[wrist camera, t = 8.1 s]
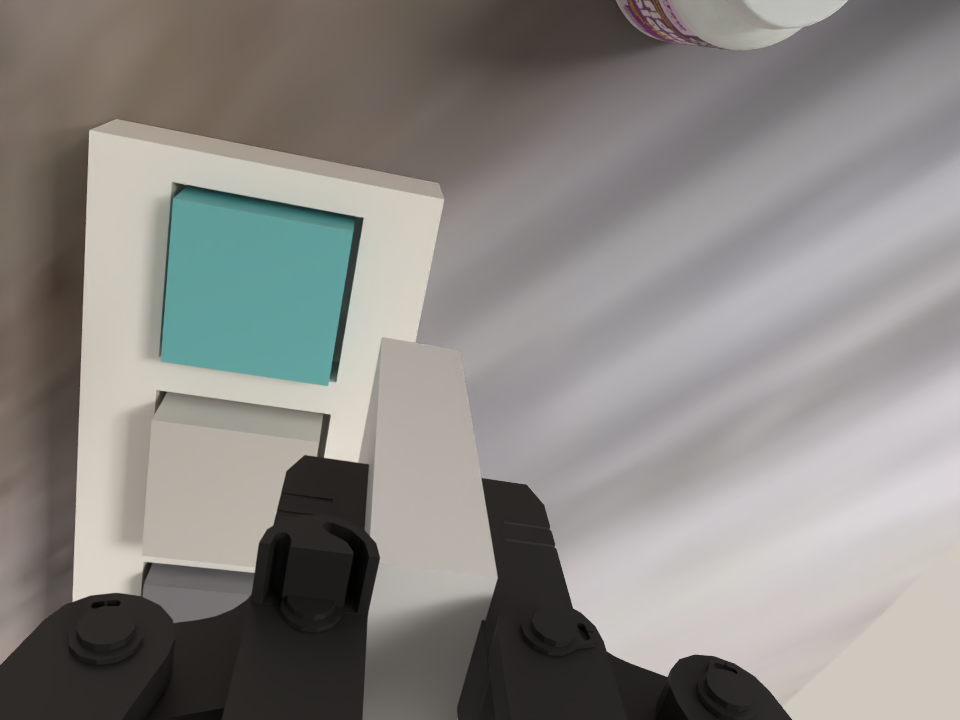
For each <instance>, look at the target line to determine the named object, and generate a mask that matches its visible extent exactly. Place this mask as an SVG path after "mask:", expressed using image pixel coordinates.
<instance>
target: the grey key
mask: <svg viewBox="0 0 960 720" xmlns="http://www.w3.org/2000/svg"><path fill="white" fill-rule="evenodd" d="M322 419H323V413H317V412H310V411H302V410H295V409H288V408H281V407H274V406H267V405H260V404H252V403H245V402H238V401H231V400H224V399H217V398H210V397H203V396H195V395H188V394H181V393H174V392H167V393H166V395H165V397H164V399H163V401H162V402H161V404H160V406H159V408H158V410H157V411H156V413H155V415H154V417H153V419H152V423H151V436H150V450H149V463H148V477H147V491H146V504H145V518H144V531H143V545H142V556H149V557H159V558H169V559H178V560H188V561H198V562H207V563H217V564H227V565H237V566H246V567H256V560H257V552H258V545H259V542H260V540H261V538H262V537H263V535H264V534H265V532H266V530H267V529H268V528H270V527H272V526H273V524H274V520H275V516H276V513H277V508H278V504H279V500H280V496H281V491H282V487H283V483H284V479H285V475H286V471H287V470H288V469H289V468H291V467H292V466H293V465H294V464H295V463H296V462H297V461H298V460H299V459H301V458H302V457H303V456H304V455H308V456H315V457H317V453H318V447H319V441H320V434H321V426H322Z"/></svg>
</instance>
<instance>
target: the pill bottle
mask: <svg viewBox="0 0 960 720" xmlns="http://www.w3.org/2000/svg"><path fill="white" fill-rule="evenodd" d="M847 1H848V0H616V2H617V4H618V6H619V8H620V9H621V11H622V12H623V14H624V15H625V17H626V18H627V19H628V21H629V22H630V23H631V24H632V25H633V26H635V27H636V28H637V29H638V30H640V31H641V32H643V33H644V34H646V35H648V36H650V37H653V38H655V39H658V40H662V41H667V42H672V43H678V44H687V45H697V46H705V47H712V48H720V49H727V50H737V51H743V50H753V49H759V48H764V47H767V46H770V45H773V44H776V43H778V42H780V41H783V40H785V39H786V38H788V37H790V36H792V35H793V34H795V33H796V32H797V31H799V30H800V29H801V28H803V27H805V26H810V25H812V24H815V23H817V22H819V21H822V20H824V19H826V18H827V17H829V16H830V15H832V14H833V13H835V12H836V11H837V10H839V9H840V8H841V7H842V6H843V5H844V4H845V3H846V2H847Z"/></svg>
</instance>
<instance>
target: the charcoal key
mask: <svg viewBox="0 0 960 720" xmlns="http://www.w3.org/2000/svg"><path fill="white" fill-rule="evenodd" d="M254 574H255V573H251V572H241V571H232V570H222V569H212V568H202V567H192V566H182V565H172V564H163V563H152V566H151V568H150V570H149V573H148V575H147V578H146V580H145V583H144V587H143V597H144V598H146V599H148V600H150V601H152V602H155V603H157V604H159V605H161V606H162V608H163V609H164V610H165V611H166V612H167V613H168V615H169V616H170V617H171V618H172V619H173V623H178V622H185V621H193V620H200V619H204V618H209V617H214V616H217V615H220V614H222V613H225V612H227V611H230V610H232V609H234V608H235V607H237V606H238V605H240V604H241V603H243V602H244V601H246V600H247V599H248V598H249V596H250V595H251V594H252V588H253V581H254Z"/></svg>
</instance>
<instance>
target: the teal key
mask: <svg viewBox="0 0 960 720" xmlns="http://www.w3.org/2000/svg"><path fill="white" fill-rule="evenodd" d="M354 222H355V216H351V215H346V214H341V213H335V212H330V211H325V210H319V209H314V208H309V207H303V206H298V205H293V204H287V203H282V202H277V201H271V200H266V199H261V198H255V197H250V196H245V195H239V194H234V193H229V192H223V191H218V190H213V189H207V188H202V187H197V186H191V185H187V186H186V187H185V188H184V189H183V190H182V191H181V192H180V193H179V194H178V195H176V196H175V197H174V198H173V206H172V220H171V233H170V246H169V259H168V272H167V285H166V298H165V312H164V325H163V338H162V351H161V362H167V363H173V364H180V365H187V366H194V367H201V368H207V369H214V370H221V371H228V372H235V373H242V374H248V375H255V376H262V377H269V378H276V379H282V380H289V381H296V382H303V383H310V384H317V385H323V386H328V384H329V378H330V372H331V366H332V360H333V354H334V347H335V341H336V335H337V329H338V323H339V317H340V311H341V304H342V298H343V292H344V286H345V280H346V274H347V268H348V261H349V255H350V249H351V243H352V237H353V230H354Z"/></svg>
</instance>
